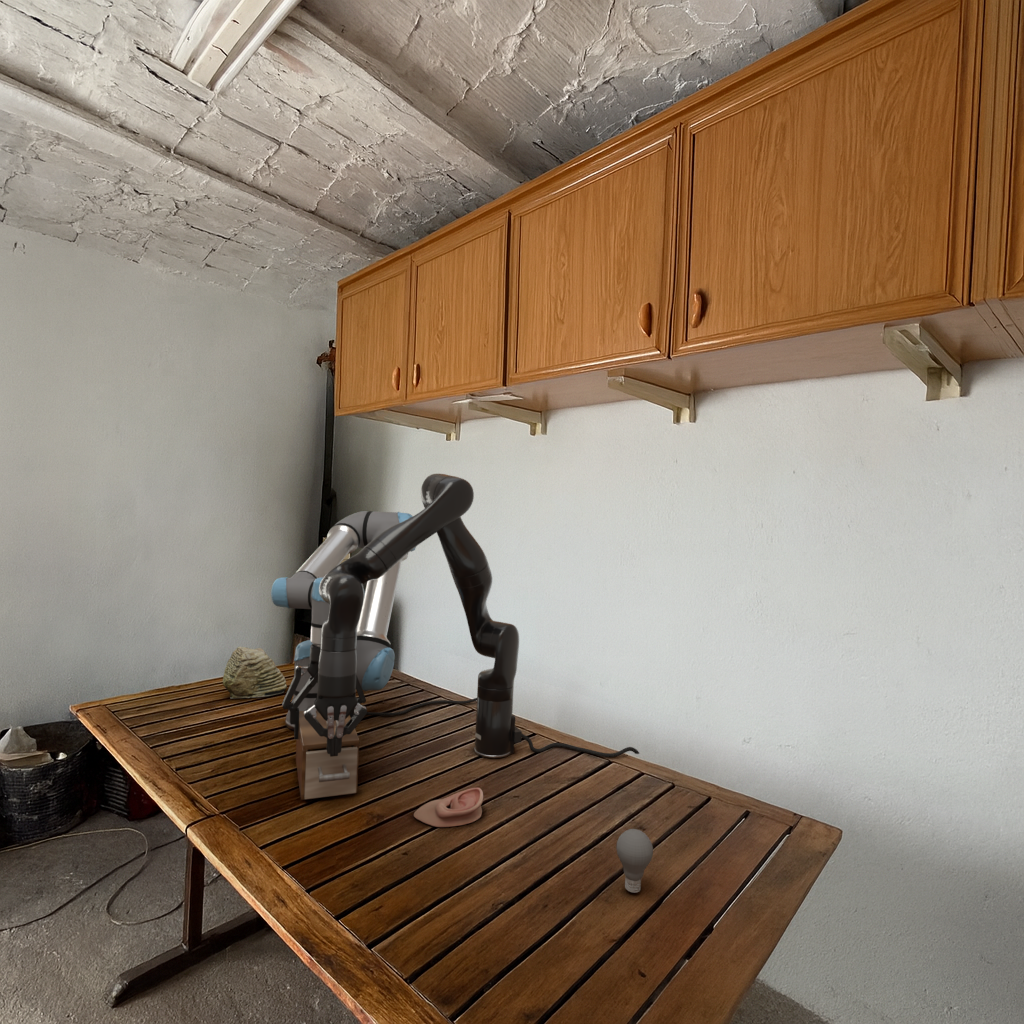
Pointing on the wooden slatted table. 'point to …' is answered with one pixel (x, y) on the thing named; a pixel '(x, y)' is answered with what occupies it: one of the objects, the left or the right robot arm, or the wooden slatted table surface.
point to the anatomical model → (452, 809)
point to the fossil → (252, 674)
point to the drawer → (330, 772)
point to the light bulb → (634, 857)
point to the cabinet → (317, 745)
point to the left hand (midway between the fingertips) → (323, 734)
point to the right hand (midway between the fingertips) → (333, 754)
